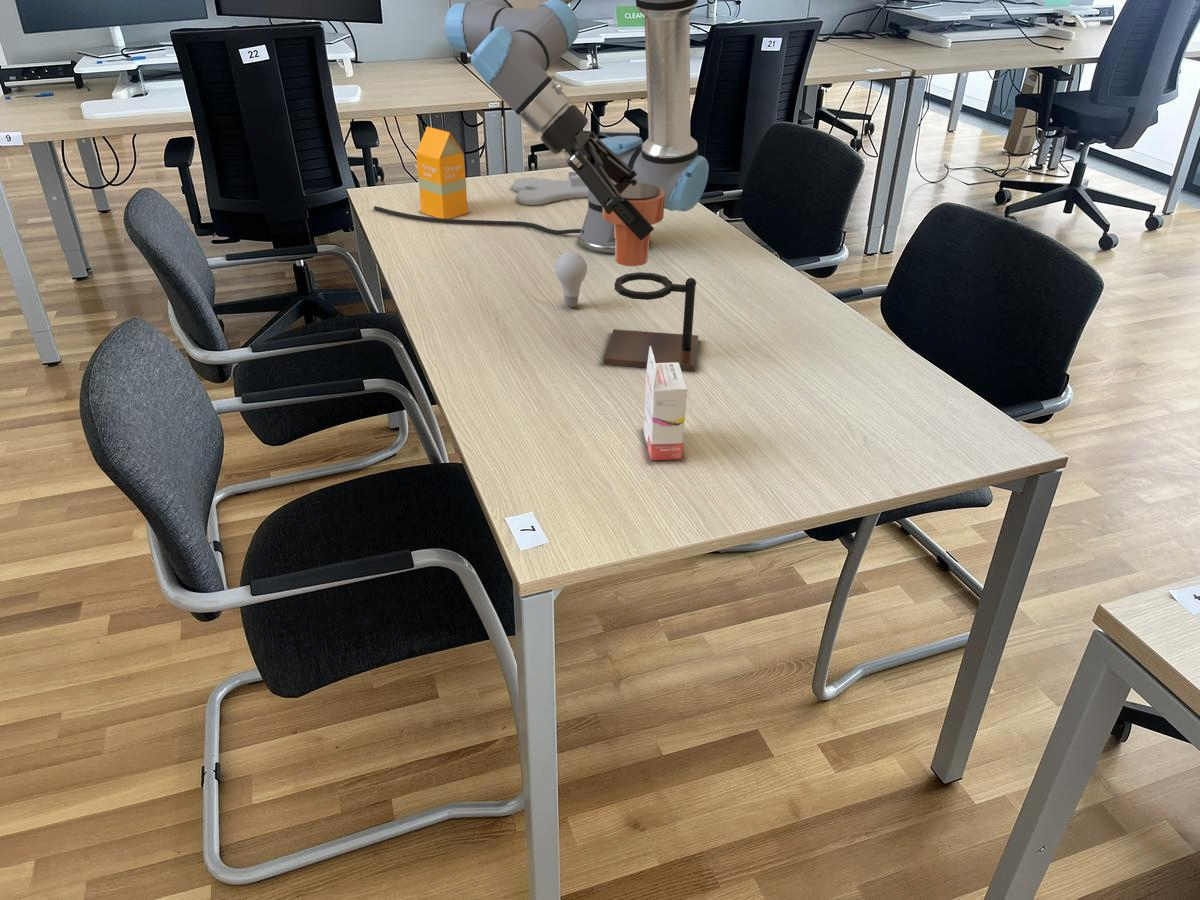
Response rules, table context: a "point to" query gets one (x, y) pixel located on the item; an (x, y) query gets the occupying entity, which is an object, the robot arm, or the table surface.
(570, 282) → the lightbulb
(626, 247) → the terracotta pot
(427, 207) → the orange juice
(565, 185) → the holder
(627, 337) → the ring stand base
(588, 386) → the table surface
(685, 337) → the ring stand
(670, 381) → the ink cartridge box
